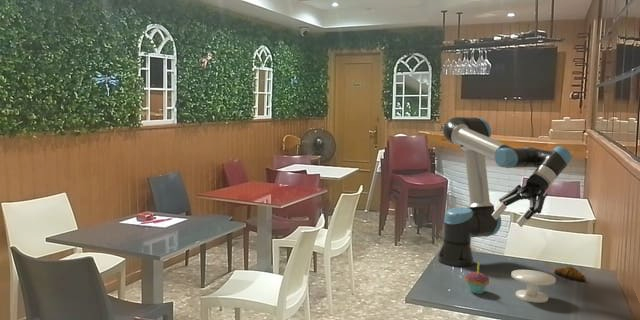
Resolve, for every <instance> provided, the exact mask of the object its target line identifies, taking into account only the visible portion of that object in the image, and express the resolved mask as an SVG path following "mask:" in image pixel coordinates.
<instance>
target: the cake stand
mask: <svg viewBox="0 0 640 320" xmlns="http://www.w3.org/2000/svg"><path fill="white" fill-rule="evenodd" d="M511 278H512V279H513V280H516V281H517V282H520V283H525V284H526V288H525V289H518V290H517V291H515V297H516V298H517V299H519V300H522V301H525V302H529V303H535V304H537V303H538V304H540V303H541V304H542V303H547V302H549V295H548V294H545V293H544V292H540V291H539V288H540V287H539V286H552V285H555V284H556V283H557V278H556V277H555V276H554V275H553V274H549V273H547V272H543V271H540V270H533V269H532V270H531V269H515V270H513V271H511Z"/></svg>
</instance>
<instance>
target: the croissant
mask: <svg viewBox="0 0 640 320" xmlns="http://www.w3.org/2000/svg"><path fill="white" fill-rule="evenodd" d="M553 272H554V274H556V276H557V275H558V276H560V277H562V278H565V279H567V280H568V279H569V280H573V281H577V282H582V283H586V281H587V277H586V276H585V275H583V273H581V272H580V271H579V270H578V269H576V268H574V267H572V266H565V267H559V268H556V269H554V271H553Z"/></svg>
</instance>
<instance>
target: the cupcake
mask: <svg viewBox="0 0 640 320" xmlns="http://www.w3.org/2000/svg"><path fill="white" fill-rule="evenodd" d="M476 269H477V270H476V271H471V272H469V273H467V274H465V278H464V281H465V282H467V284H468V287H469V288H468V289H469V291H470V293H474V294H479V295H480V294H483V293H484V292H485V289H486V286H487V285H490V284H489V283H490V281H489V280H490V278H489V277H488V276H487V275H486V274H484V273H482V272H480V261H478V262H477V265H476Z"/></svg>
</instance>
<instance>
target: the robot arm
mask: <svg viewBox="0 0 640 320" xmlns="http://www.w3.org/2000/svg"><path fill="white" fill-rule="evenodd" d="M442 133H443V137H444V138H445V140H446V141H448V142H450V143H452V144H454V145H455V146H460V149H461V150H462V151H463V152H464V157H465V158H464V159H465V167H466V175H467V176H466V177H467V187H468V193H469V205H468V206H467V207H453V208H450V209H447V210H446V211H445V213H444V220H443V221H444V226H443V227H444V228H443V242H442V245H441V248H440V250H439V252H438V255H437V261H438V262H439V263H442V264H444V265H448V266H454V267H469V266H472V265H474V256H473V252H472V251H473V250H472V247H471V242H472V241H471V239H472V238H482V237H483V238H484V237H485V238H487V237H490V236H491V237H492V236H494V235H496V234H498V232H499V231H500V228H501V227H502V217H501V215H503V213H504V212H505V210H506V209H507V208H508V207H507V206H510V205H512V204H514V203H516V202H518V201H523V200H528V201H529V207H528V208H526V210H525V211H524V212H523V213H522V215H521V216H520V217H519V218H518V219H517V220H516V223H517V225H518V226H519V228H523V226H524V225H525V224H526V223H527V221H528V220H530V219H531V218H532V217H533V215H535V214H536V215H537V214H541V213H542V211H543V208H544V203H545V201H546V198H547V197H548V195H549V194H548V193H547V190H548V188H549V187H550V186H551V185H552V183H554V181H555V180H556V179H557V178H558V177H559V175H560V174H561V173H562V172H563V170H565V168H567V167H568V166H569V164H570V162H571V161H572V159H573V155H572V153H571V152H570V150H569V149H567V148H565V147H563V146H560V145H557V146H555V147H554V148H553V149H552V150H546V149H541V148H537V147H533V146H532V147H531V146H524V147H523V148H520V147H512V146H509V145H508V144H505V143H503V142H500V141H498V140H496V139H494V138H492V136H491V135H492V128H491V125H490V124H489V121H487V120H486V119H484V118H480V117H468V116H467V117H466V116H465V117H463V116H462V117H461V116H455V117H451V118H449V119H448V120H447V121H446V122H445V123H444V125H443V128H442ZM486 157H487V158H488V159H491V160H493V161H495V163H496V164H497V166H498V167H501V168H505V169H510V168H511V169H513V168H516V169H517V168H535V170H534V171H533V173H532V174H531V175H530V176H529V177H528V178H527V180H526V183H525V186H521V184H518V185H516V187H515V188H513V189H512V190H510V191H508V192H507V193H506V194H505V195H503V196H501V197H500V198H499V199H498V201H499V202H500V204H498V206H496V208H495V205H494V204H493V203H491V199H490V191H489V183H488V174H487V173H488V172H487V164H486Z"/></svg>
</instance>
